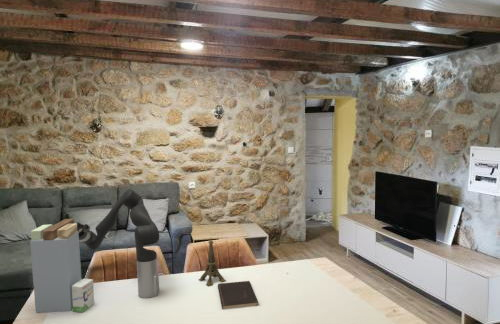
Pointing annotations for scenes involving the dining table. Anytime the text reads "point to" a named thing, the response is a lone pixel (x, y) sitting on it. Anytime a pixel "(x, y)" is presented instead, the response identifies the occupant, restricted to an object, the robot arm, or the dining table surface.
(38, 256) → the stand
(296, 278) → the dining table surface
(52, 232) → the walnut bar
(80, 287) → the ink box
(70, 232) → the maple bar
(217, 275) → the eiffel tower
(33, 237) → the sage bar
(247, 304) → the hardcover book
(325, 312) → the dining table surface
